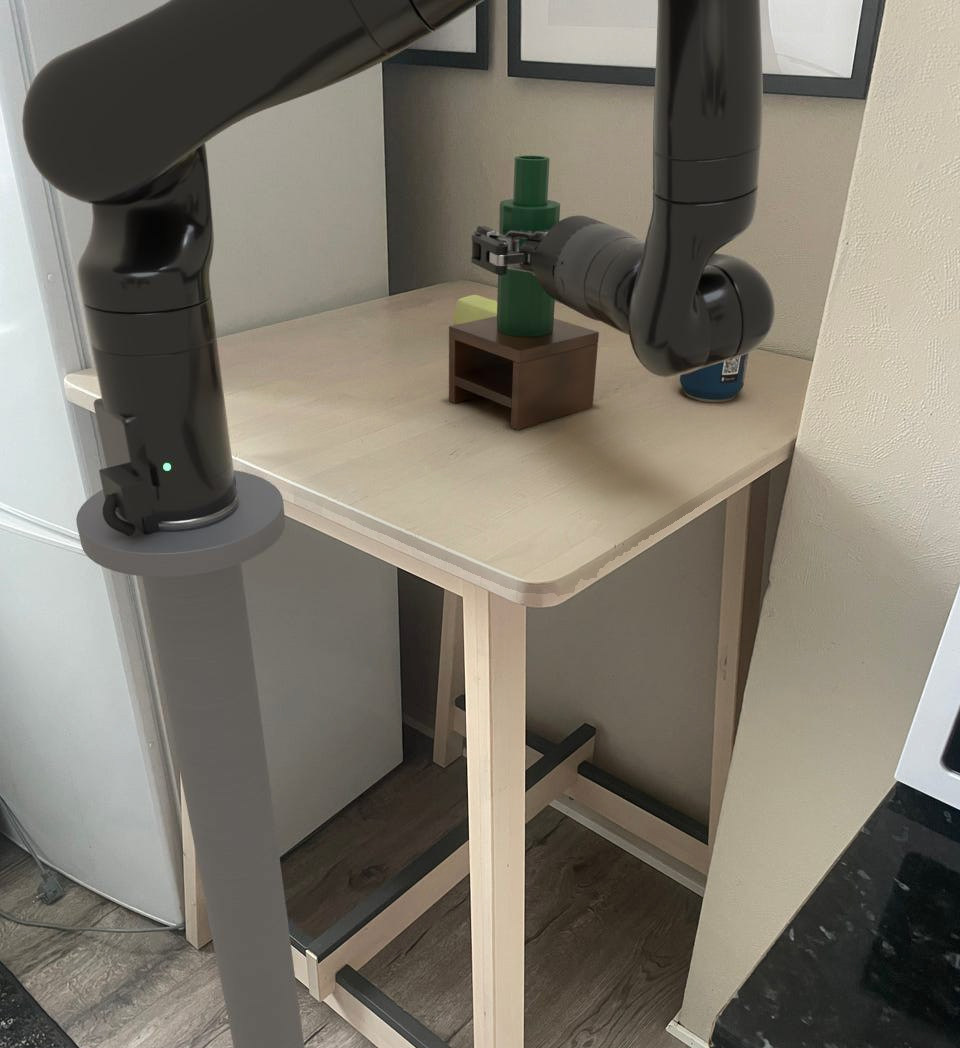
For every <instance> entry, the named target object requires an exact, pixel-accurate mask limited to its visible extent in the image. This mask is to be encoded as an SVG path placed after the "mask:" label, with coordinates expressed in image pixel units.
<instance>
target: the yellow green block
mask: <svg viewBox="0 0 960 1048" xmlns="http://www.w3.org/2000/svg"><path fill="white" fill-rule="evenodd" d="M495 316H497V300H494V299H491V298H487V297H484V296H481V295H478V294H470V295H467V296H463V297H461V298H458V300H457V302H456V304H455V310H454V313H453V318H452V324H453V325H457V324H462V323H466V322H471V321H476V320H480V319H485V318H490V317H495Z"/></svg>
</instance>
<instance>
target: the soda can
mask: <svg viewBox="0 0 960 1048" xmlns="http://www.w3.org/2000/svg"><path fill="white" fill-rule="evenodd" d="M749 354H750V352H749V353H747V354H745V355H742V356H739V357H737V358H733V359H730V360H727V361H724V362H721V363H717V364H714V365H711V366H708V367H704V368H701V369H698V370H695V371H692V372H689V373H686V374H683V375H679V384H680V385H681V389H682V390H683V392H684V394H685V396H687V397H688V398H690V399H692V400H695V401H700V402H704V403H724V402H725V403H726V402H729V401H733V400H734V399H735V398H736V397H737V396H738V394H739V393H740V392H741V390H742V389H743V387H744V384H745V379H746V372H747V365H748V360H749Z"/></svg>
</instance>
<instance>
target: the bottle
mask: <svg viewBox="0 0 960 1048" xmlns="http://www.w3.org/2000/svg"><path fill="white" fill-rule="evenodd" d="M513 163H514V164H513V165H514V167H513V169H514V170H513V171H514V172H513V192H512V193H513V196H512V197H513V198H509V199H505V200H501V201H500V202H499V221H498V222H499V223H498V225H499V226H498V232H501V233H508V232H509V231H512V230H515V229H521V230H529V231H540V230H550V229H551V228H552V227H553V226H554V225H555V224H556V223H558V222H559V221H560V219H561V218H560V217H561V216H560V215H561V203H560V202H558V201H555V200H550V199H548V197H549V180H550V179H549V177H550V176H549V175H550V158H549V157H548V156H543V155H532V154H531V155H527V154H526V155H516V156H515V157H514V162H513ZM526 240H528V239H524V238H520V243H519V249H520V247H521V245H522V244H523V243H524V242H525V241H526ZM500 242H505V241H501V240H500ZM496 298H497V299H496V301H497V330H498V331H499V332H501V333H503V334H507V335H511V336H518V337H537V336H544V335H547V334H550V333H551V332H552V331H553V323H554V318H555V302H556V300H555V299H553V298H552V297H550V296H549V295H548V294H547V293H546V292H545V291H544V289H543V288H542V286H541V284H540V282H539V280H538V278H537V276H534V275H533V274H532V273H530V272H524V271H517V270H511V269H508V268H507V274H504V275H501V276H500V275H498V274H497V297H496Z"/></svg>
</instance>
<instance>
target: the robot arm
mask: <svg viewBox="0 0 960 1048" xmlns="http://www.w3.org/2000/svg"><path fill="white" fill-rule="evenodd" d="M484 1H485V0H168V1H166V2H165V3H163V4H161V5H159V6H158V7H156V8H154V9H152V10H150V11H149V12H146V13H144V14H143V15H140V16H139V17H136V18H135V19H133V20H130V21H129V22H127V23H125V24H123V25H121V26H119V27H117V28H115V29H113V30H111V31H109V32H107V33H105V34H102V35H100V36H98V37H96V38H93V39H92V40H90V41H88V42H85V43H82V44H81V45H78V46H76V47H74V48H72V49H69V50H67V51H65V52H63V53H60V54H58V55H56V56H55V57H53V58H52V59H50V60H49V61H48V62H47V63H46V64H44V66H42V68H41V69H40V70H39V71H38V72H37V73H36V75H35V76H34V78H33V80H32V82H31V84H30V86H29V88H28V89H27V93H26V96H25V100H24V103H23V109H22V118H21V119H22V120H21V123H22V136H23V141H24V144H25V147H26V151H27V154H28V157H29V158H30V160H31V162H32V165H34V167H35V169H36V170H37V172H38V173H39V174H40V175H41V177H42V178H43V179H44V180H46V181H47V182H48V183H49V184H50V185H51V186H52V187H53V188H54V189H56V190H57V191H59V192H61V193H62V194H63V195H66V196H67V197H69V198H72V199H74V200H75V201H79V202H82V203H86V204H89V205H91V211H92V213H91V214H92V223H91V229H90V234H89V239H88V242H87V244H86V246H85V248H84V250H83V252H82V254H81V256H80V258H79V261H78V263H77V268H76V270H77V272H76V273H77V280H78V285H79V292H80V295H81V296H80V297H81V300H82V305H83V310H84V316H85V320H86V326H87V332H88V335H89V336H88V337H89V341H90V346H91V351H92V357H93V361H94V362H93V363H94V367H95V372H96V378H97V381H98V387H99V391H100V398H96V399H95V400H94V401H93V409H94V413H95V418H96V423H97V428H98V433H99V437H100V443H101V447H102V452H103V457H104V458H103V459H104V462H105V467H104V468H101V469H99V470H98V472H99V477H100V482H101V487H102V490H103V492H104V497H105V502H104V505H103V517H104V519H105V521H106V523H107V524H108V525H109V526H110V527H111V528H113V529H114V530H116V531H119V532H121V533H123V534H125V535H127V536H131V535H132V534H133V533H134V532H135V530H136V528H137V529H139V530H140V531H141V532H142V533H144V534H145V535H148V534H152V533H156V532H163V531H185V530H192V529H198V528H202V527H206V526H209V525H212V524H215V523H217V522H220V521H222V520H224V519H226V518H227V517H229V516H230V515H231V514H233V513H234V512H235V511H236V509H237V508H238V505H239V499H238V491H237V489H236V480H235V476H234V470H235V469H234V462H233V456H232V447H231V440H230V431H229V424H228V416H227V415H228V414H227V409H226V408H227V407H226V402H225V393H224V385H223V376H222V370H221V369H222V368H221V361H220V355H219V353H220V352H219V346H218V345H219V344H218V339H217V329H216V322H215V314H214V307H213V306H214V305H213V297H212V289H211V280H210V271H211V264H212V259H213V255H214V245H215V244H214V242H215V241H214V239H215V238H214V237H215V236H214V222H213V211H212V209H213V208H212V196H211V186H210V185H211V184H210V175H209V165H208V153H207V145H206V143H207V142H209V141H210V140H211V139H213V138H214V137H216V136H217V135H219V134H220V133H222V132H224V131H225V130H227V129H229V128H230V127H232V126H233V125H235V124H237V123H240V122H241V121H243V120H245V119H247V118H249V117H251V116H253V115H255V114H258V113H260V112H263V111H265V110H268V109H271V108H274V107H276V106H279V105H282V104H285V103H288V102H290V101H293V100H295V99H298V98H302V97H305V96H308V95H310V94H312V93H315V92H318V91H321V90H323V89H325V88H327V87H328V88H329V87H330V86H333V85H335V84H338V83H340V82H342V81H344V80H347V79H349V78H351V77H354V76H356V75H358V74H360V73H362V72H365V71H366V70H369V69H371V68H374V67H375V66H377V65H379V64H381V63H383V62H385V61H387V60H388V59H390V58H392V57H394V56H396V55H397V54H399V53H401V52H402V51H404V50H406V49H408V48H409V47H412V46H413V45H414V44H416V43H418V42H420V41H421V40H423V39H425V38H427V37H428V36H431V35H432V34H434V33H435V32H437V31H439V30H441V29H442V28H444V27H445V26H447V25H449V24H450V23H452V22H453V21H454V20H455V19H458V18H459V17H460V16H462V15H463V14H465V13H467V12H468V11H470V10H471V9H473V8H475V7H476V6H478V5H479V4H481V3H482V2H484ZM763 73H764V72H763V46H762V23H761V0H657V22H656V51H655V73H654V74H655V75H654V93H653V125H652V126H653V127H652V211H651V216H650V219H649V220H650V221H649V224H648V229H647V232H646V235H645V241H643V240H642V239H639V238H637V237H636V236H634V235H633V234H632V233H630V232H628V231H626V230H624V229H621V228H619V227H616V226H613V225H611V224H609V223H606V222H603V221H600V220H598V219H595V218H592V217H589V216H586V215H571V216H567V217H565V218H563V219H560V220H559V222H558V223H556V224H555V225H554V226H553V227H552V228H551V229H550V230H540V231H529V230H521V229H515V230H512V231H509V232H508V233H501V232H499V231H496V230H495V229H493V228H491V227H489V226H487V225H478V226H477V227H476V230H474V233H472V234H471V257H470V258H471V260H470V262H471V263H472V264H474V265H475V266H477V267H480V268H482V269H484V270H486V271H488V272H490V273H492V274H495V275H497V276H498V275H500V276H501V275H504V274H507V268H508V269H511V270H517V271H524V272H530V273H532V274H533V275H534V276H537V278H538V280H539V282H540V284H541V286H542V288H543V289H544V291H545V292H546V293H547V294H548V295H549V296H550V297H552V298H553V299H555V301H557V302H559V303H560V304H562V305H564V306H565V307H568V308H569V309H572V310H573V311H575V312H577V313H578V314H580V315H583V316H584V317H586V318H588V319H591V320H594V321H598V322H602V323H604V324H605V325H607V326H609V327H611V328H613V329H615V330H617V331H618V332H620V333H622V334H625V335H627V336H629V340H630V344H631V347H632V350H633V353H634V355H635V357H636V358H637V360H638V361H639V363H640V364H641V366H643V368H644V369H646V370H647V371H648V372H650V373H651V374H652V375H654V376H656V377H661V378H674V377H678V376H679V377H680V375H683V374H686V373H689V372H692V371H695V370H698V369H701V368H704V367H708V366H711V365H714V364H717V363H721V362H724V361H727V360H730V359H733V358H737V357H739V356H742V355H745V354H747V353H749V354H750V353H751V352H752V351H755V350H756V348H758V347H760V346H761V345H762V344H763V342H764V341H765V340H766V339H767V337H768V335H769V334H770V333H771V330H772V328H773V325H774V321H775V317H776V316H775V315H776V303H775V296H774V293H773V291H772V288H771V286H770V284H769V281H767V279H766V278H765V275H763V274H762V272H761V271H760V270H759V269H758V268H757V267H755V266H754V265H753V264H751V263H749V261H746V260H745V259H742V258H740V257H737V256H734V255H731V254H725V253H718V252H717V251H719V250H720V249H722V248H723V247H724V246H726V245H727V244H729V243H730V242H732V241H734V240H736V239H737V238H738V237H740V236H741V235H742V234H744V233H745V232H747V230H748V229H749V228H750V226H751V225H752V224H753V221H754V219H755V216H756V213H757V212H756V211H757V204H758V192H759V182H760V181H759V180H760V166H761V153H762V137H763V135H762V134H763V115H764V79H763V78H764V77H763V75H764V74H763ZM520 238H524V239H528V240H526V241H525V242H524V243H523V244H522V245H521V247H520V249H519V243H520ZM500 240H501V241H505V242H500ZM115 511H116V512H117V513H118V514H119V515H121V516H122V517H123V518H124V519H125V520H127V521H128V522H129V523H128V522H126V521H123V520H121V519H120V518H118V517H117V515H116V513H115ZM130 523H131V524H130ZM132 524H133V525H132Z"/></svg>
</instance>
